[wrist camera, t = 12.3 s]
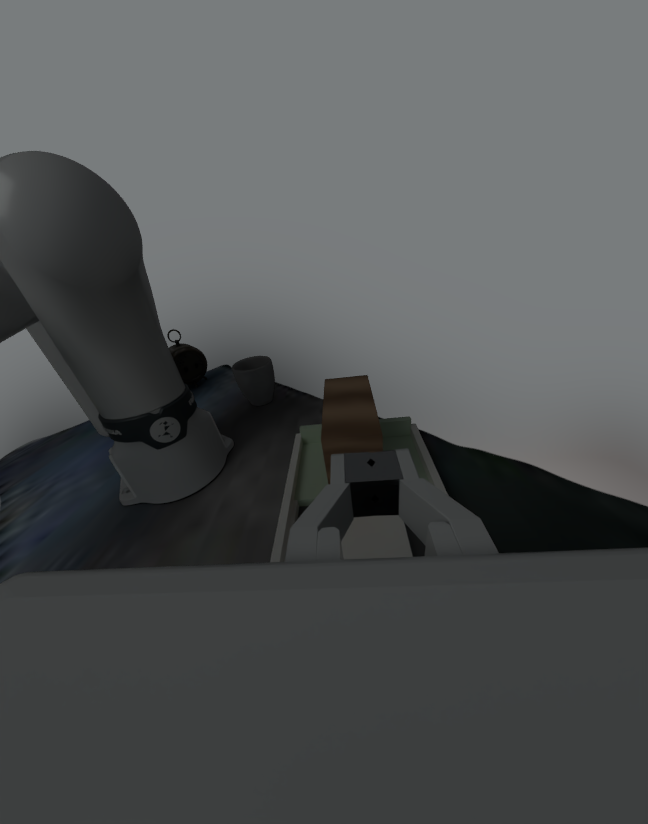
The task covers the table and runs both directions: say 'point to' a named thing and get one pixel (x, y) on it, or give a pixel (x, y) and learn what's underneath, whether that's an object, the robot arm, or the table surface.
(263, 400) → the mug
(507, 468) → the table surface
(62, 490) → the table surface
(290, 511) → the box
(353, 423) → the walnut block
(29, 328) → the cylinder vase
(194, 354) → the alarm clock
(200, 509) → the table surface
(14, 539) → the table surface
